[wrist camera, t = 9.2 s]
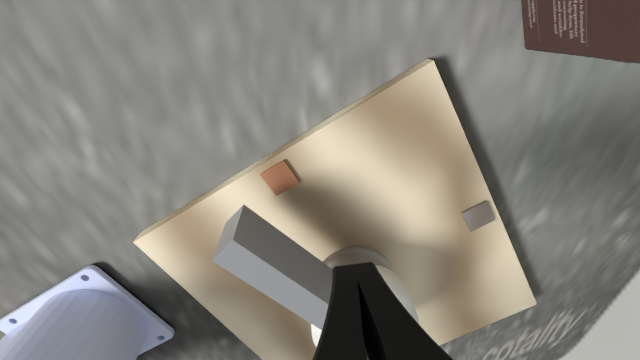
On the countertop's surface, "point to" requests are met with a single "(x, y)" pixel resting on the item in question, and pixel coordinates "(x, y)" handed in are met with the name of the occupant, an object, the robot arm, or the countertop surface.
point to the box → (584, 28)
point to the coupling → (286, 268)
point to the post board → (360, 219)
